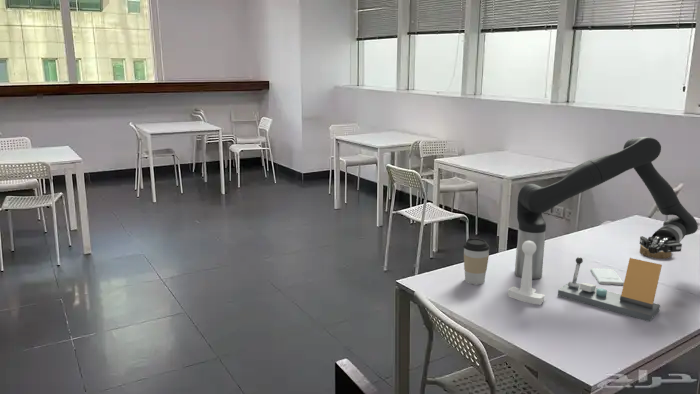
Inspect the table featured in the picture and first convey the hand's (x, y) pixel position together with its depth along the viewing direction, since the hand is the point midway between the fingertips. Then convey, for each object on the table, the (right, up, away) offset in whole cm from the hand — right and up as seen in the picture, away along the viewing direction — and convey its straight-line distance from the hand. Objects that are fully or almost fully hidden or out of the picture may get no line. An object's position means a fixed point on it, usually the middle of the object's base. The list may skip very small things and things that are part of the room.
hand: (652, 250), depth 175 cm
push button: (-15, -15, +3) cm, 21 cm away
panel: (-13, -17, +3) cm, 22 cm away
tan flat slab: (-7, -16, -4) cm, 18 cm away
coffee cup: (-52, -13, +21) cm, 57 cm away
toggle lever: (-21, -13, +9) cm, 26 cm away
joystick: (-37, -16, +7) cm, 42 cm away
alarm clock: (+28, -6, +49) cm, 57 cm away
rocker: (-18, -14, +6) cm, 23 cm away
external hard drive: (-4, -13, +23) cm, 27 cm away
